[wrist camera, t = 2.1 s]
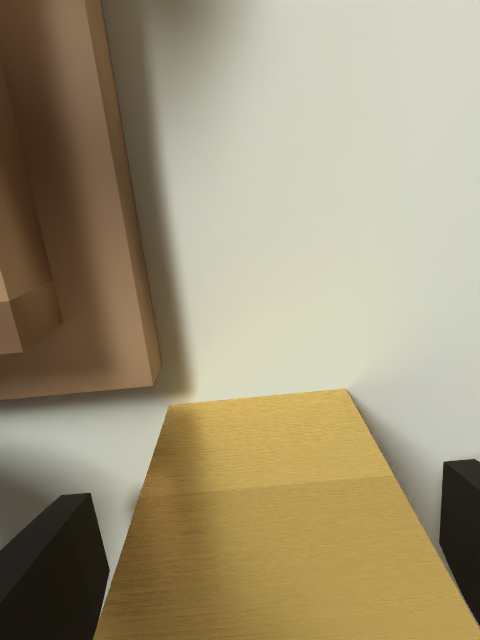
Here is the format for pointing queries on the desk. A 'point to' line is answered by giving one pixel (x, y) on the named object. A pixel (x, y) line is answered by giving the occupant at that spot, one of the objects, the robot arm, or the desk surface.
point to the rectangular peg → (277, 533)
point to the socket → (67, 212)
